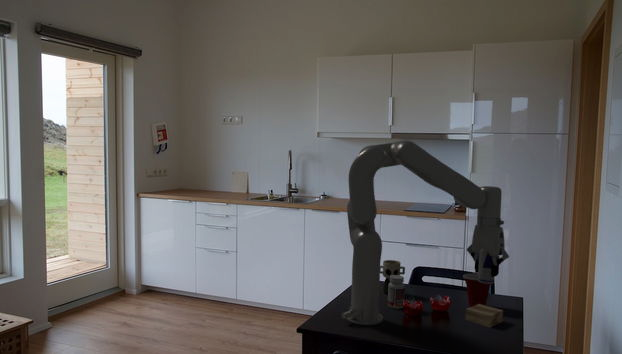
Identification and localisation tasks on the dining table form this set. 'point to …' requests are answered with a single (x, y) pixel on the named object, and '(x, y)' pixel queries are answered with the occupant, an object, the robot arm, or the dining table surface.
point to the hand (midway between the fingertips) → (486, 273)
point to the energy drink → (485, 267)
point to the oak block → (484, 315)
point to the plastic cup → (476, 290)
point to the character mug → (390, 271)
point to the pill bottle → (396, 291)
